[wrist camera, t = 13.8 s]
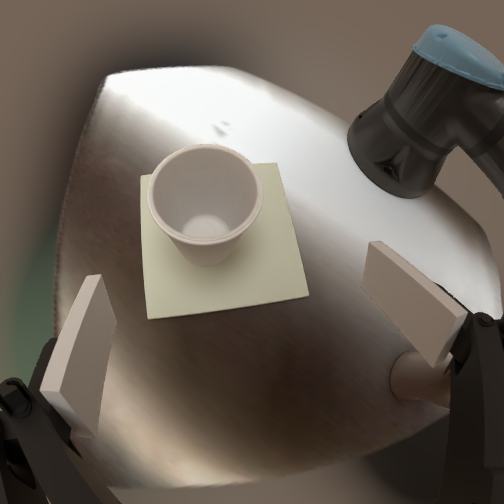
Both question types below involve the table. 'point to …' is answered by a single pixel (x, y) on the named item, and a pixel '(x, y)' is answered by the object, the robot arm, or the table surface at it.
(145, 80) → the table surface
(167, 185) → the dixie cup
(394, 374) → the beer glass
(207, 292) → the sage mat
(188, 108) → the table surface
